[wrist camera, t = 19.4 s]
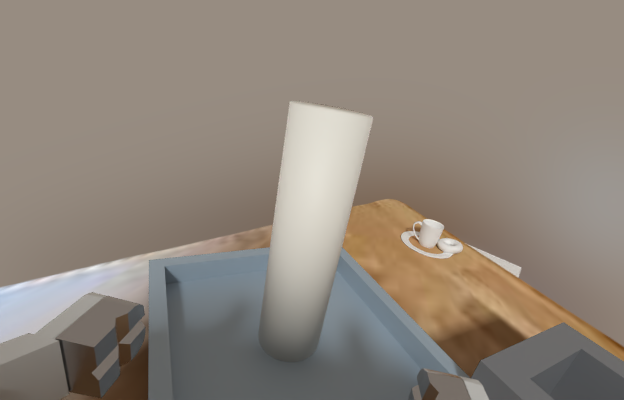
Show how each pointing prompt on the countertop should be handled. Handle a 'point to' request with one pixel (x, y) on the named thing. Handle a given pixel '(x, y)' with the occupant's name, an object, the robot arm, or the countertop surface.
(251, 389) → the tray
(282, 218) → the dowel pin
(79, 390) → the robot arm
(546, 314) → the countertop surface
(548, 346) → the pin cup
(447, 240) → the teacup and saucer
